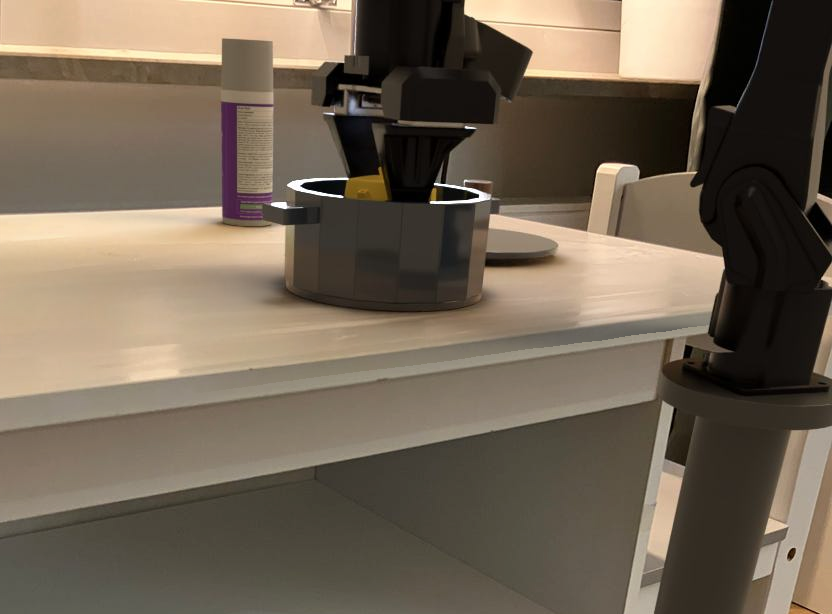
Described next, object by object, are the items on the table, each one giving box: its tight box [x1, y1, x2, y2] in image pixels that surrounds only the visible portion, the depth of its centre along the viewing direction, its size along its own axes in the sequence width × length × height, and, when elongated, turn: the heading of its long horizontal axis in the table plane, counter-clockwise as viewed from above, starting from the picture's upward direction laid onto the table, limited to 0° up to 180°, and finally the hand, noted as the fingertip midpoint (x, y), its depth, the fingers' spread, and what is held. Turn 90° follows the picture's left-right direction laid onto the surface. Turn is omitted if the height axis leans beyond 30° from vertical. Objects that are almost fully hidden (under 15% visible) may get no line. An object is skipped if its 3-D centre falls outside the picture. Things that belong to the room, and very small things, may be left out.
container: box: [220, 37, 274, 227], centre depth 95 cm, size 5×5×15 cm
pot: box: [262, 177, 501, 312], centre depth 72 cm, size 14×19×6 cm
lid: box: [463, 179, 559, 264], centre depth 89 cm, size 15×15×6 cm
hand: (388, 233), depth 72 cm, fingers closed on teapot, 6 cm apart
